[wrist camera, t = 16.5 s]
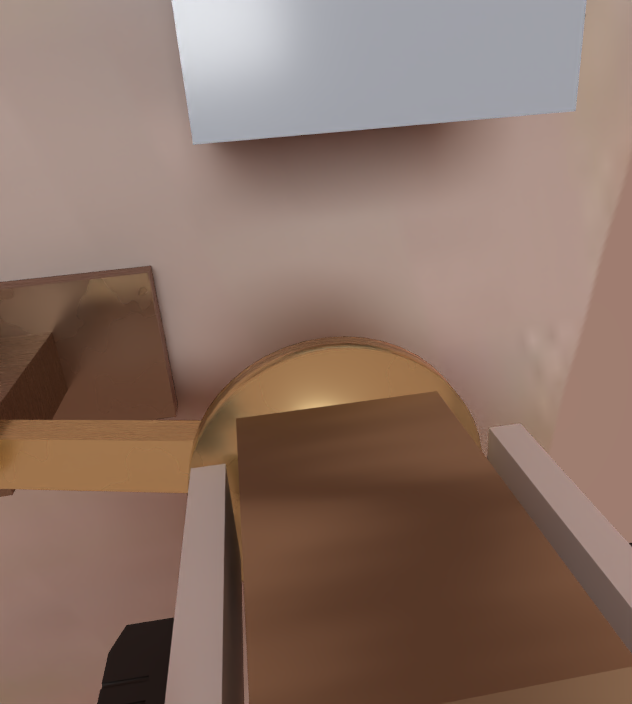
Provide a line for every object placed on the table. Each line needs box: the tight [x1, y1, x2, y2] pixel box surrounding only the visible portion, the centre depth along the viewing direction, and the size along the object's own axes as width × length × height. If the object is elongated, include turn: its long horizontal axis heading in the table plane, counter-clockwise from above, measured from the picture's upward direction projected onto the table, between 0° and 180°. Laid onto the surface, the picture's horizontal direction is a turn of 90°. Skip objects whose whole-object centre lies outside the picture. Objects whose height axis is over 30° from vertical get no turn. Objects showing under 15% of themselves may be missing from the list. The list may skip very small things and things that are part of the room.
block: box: [236, 391, 632, 704], centre depth 11 cm, size 4×4×7 cm
